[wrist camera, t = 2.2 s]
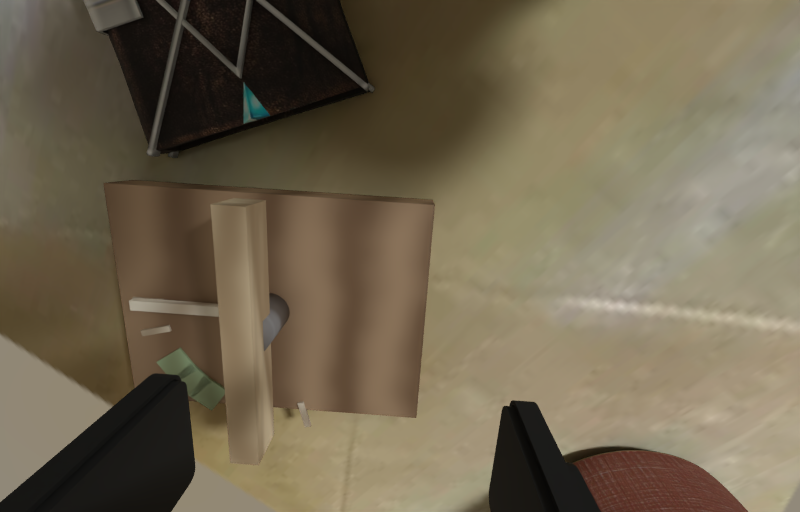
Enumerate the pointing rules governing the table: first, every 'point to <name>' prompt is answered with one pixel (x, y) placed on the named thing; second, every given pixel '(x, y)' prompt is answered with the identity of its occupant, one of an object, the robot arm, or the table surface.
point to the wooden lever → (240, 323)
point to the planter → (653, 484)
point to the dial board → (282, 292)
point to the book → (228, 63)
